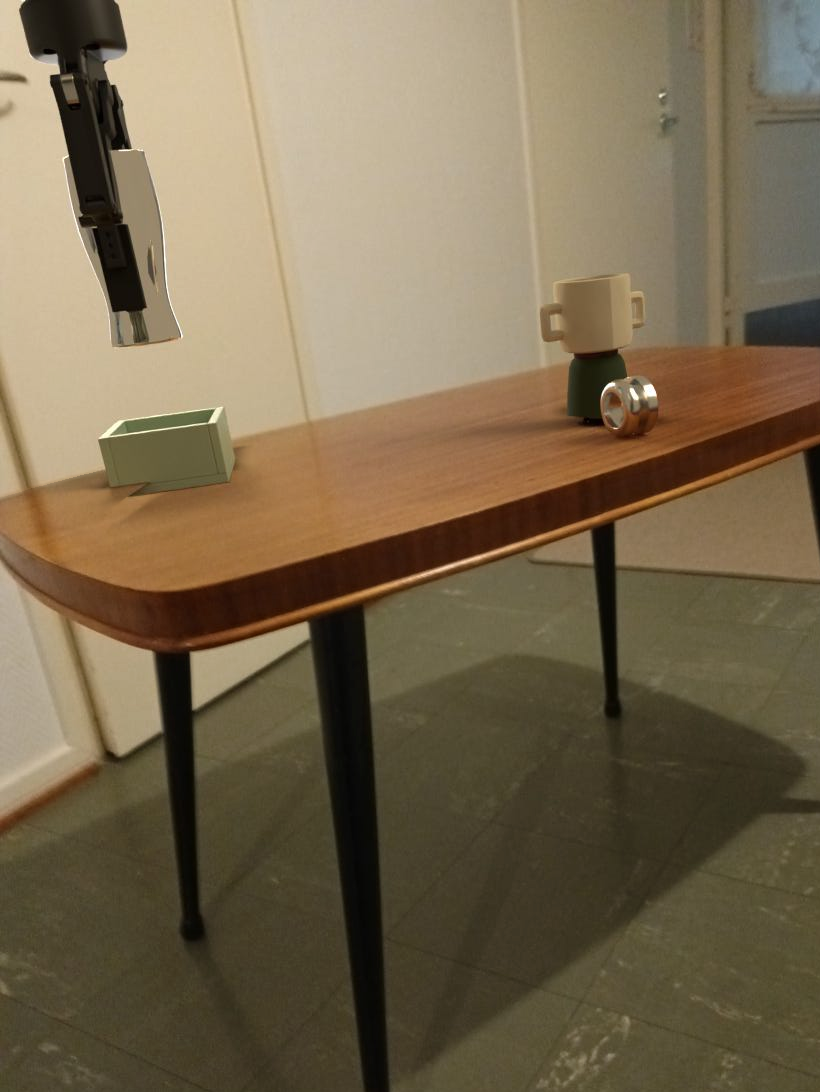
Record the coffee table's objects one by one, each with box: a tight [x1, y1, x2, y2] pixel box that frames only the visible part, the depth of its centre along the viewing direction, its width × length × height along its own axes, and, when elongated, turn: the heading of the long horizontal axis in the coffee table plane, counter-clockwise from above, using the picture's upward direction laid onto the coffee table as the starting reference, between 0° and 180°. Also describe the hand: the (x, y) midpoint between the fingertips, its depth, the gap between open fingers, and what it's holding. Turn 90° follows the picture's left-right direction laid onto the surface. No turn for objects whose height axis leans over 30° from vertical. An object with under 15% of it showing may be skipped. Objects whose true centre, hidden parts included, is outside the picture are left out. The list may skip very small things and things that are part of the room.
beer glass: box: [62, 148, 183, 349], centre depth 84 cm, size 7×7×15 cm
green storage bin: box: [97, 406, 236, 498], centre depth 90 cm, size 10×10×5 cm
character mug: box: [539, 273, 647, 423], centre depth 93 cm, size 11×7×13 cm, turn 112°
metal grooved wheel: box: [600, 374, 659, 438], centre depth 86 cm, size 5×3×5 cm, turn 27°
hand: (139, 307), depth 85 cm, fingers closed on beer glass, 7 cm apart
